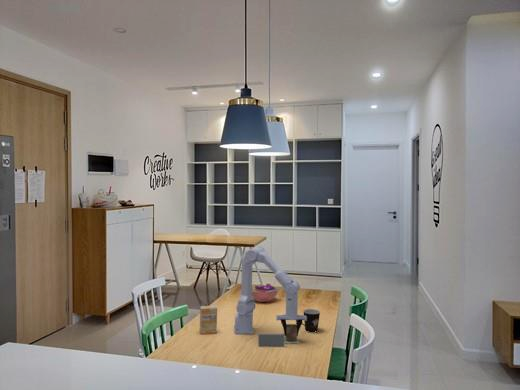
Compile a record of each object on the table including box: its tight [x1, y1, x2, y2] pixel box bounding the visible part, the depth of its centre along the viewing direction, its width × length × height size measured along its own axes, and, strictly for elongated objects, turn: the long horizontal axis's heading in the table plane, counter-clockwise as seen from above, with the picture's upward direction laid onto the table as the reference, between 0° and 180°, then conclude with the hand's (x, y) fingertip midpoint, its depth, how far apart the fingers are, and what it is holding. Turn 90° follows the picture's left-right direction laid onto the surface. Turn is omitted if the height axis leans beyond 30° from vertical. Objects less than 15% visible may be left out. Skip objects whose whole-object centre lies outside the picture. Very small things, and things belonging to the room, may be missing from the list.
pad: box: [284, 336, 300, 344], centre depth 191 cm, size 7×7×1 cm
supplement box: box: [199, 305, 218, 335], centre depth 200 cm, size 8×5×13 cm, turn 105°
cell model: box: [252, 283, 280, 303], centre depth 260 cm, size 17×20×11 cm
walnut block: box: [284, 323, 298, 340], centre depth 191 cm, size 5×5×6 cm
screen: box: [257, 333, 285, 347], centre depth 185 cm, size 12×1×6 cm, turn 92°
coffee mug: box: [301, 308, 321, 333], centre depth 206 cm, size 12×9×10 cm
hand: (291, 335), depth 191 cm, fingers closed on walnut block, 5 cm apart
